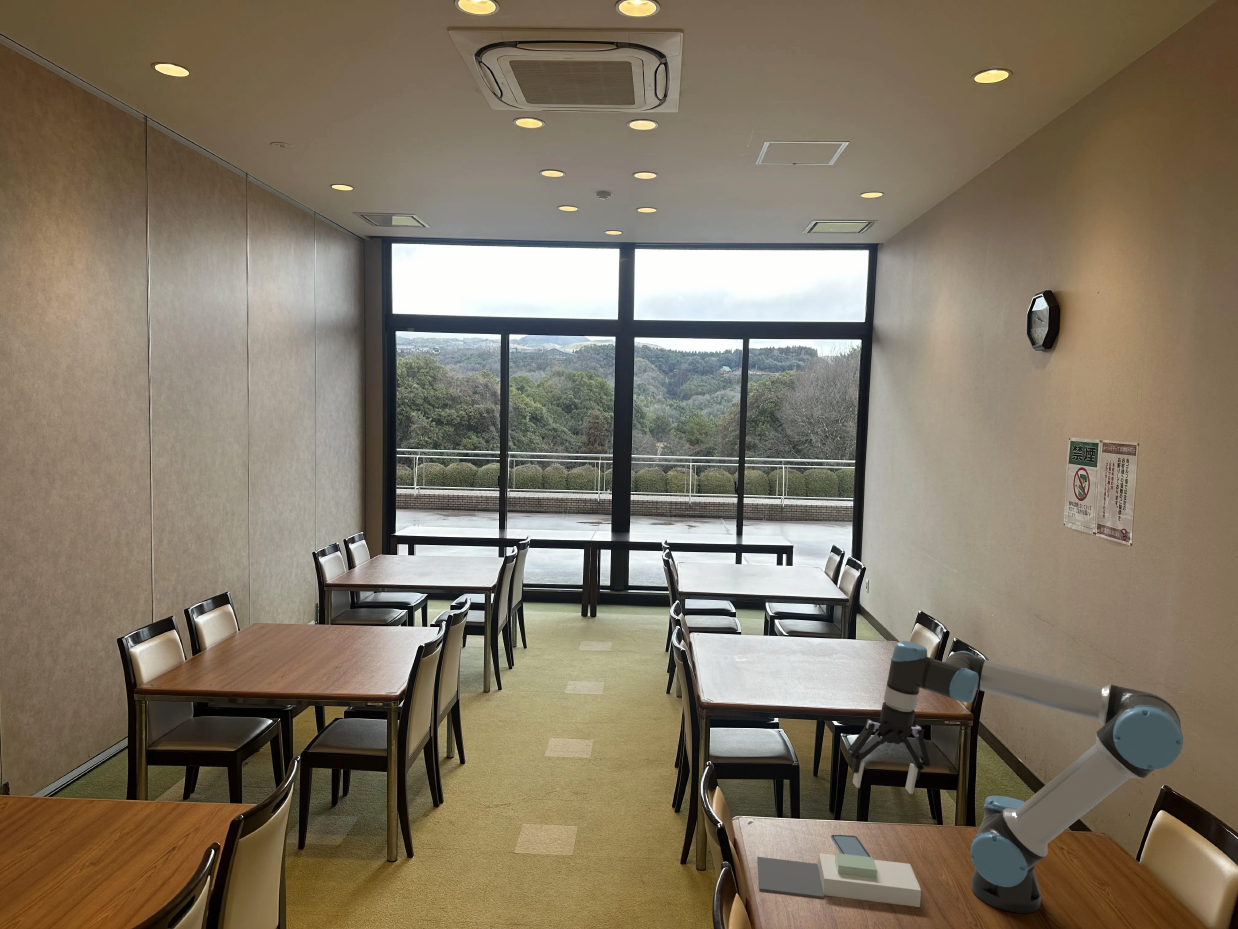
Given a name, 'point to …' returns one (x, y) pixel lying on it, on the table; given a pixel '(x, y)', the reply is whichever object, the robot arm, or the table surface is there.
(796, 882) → the mat
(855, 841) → the smartphone
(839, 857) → the tile
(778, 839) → the table surface
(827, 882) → the board
